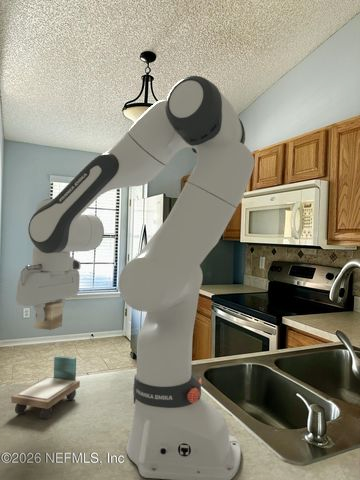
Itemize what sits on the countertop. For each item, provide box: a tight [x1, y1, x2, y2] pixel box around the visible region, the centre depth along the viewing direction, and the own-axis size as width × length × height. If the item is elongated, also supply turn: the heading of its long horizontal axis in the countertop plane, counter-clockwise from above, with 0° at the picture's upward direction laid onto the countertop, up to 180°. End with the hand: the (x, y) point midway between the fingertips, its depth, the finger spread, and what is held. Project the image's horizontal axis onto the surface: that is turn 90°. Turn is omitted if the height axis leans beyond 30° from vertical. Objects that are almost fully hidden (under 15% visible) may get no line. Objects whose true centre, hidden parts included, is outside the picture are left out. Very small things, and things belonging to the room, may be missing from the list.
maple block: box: [34, 301, 64, 331], centre depth 84 cm, size 4×4×6 cm
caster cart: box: [10, 355, 81, 420], centre depth 84 cm, size 10×14×10 cm
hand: (49, 318), depth 84 cm, fingers closed on maple block, 4 cm apart
